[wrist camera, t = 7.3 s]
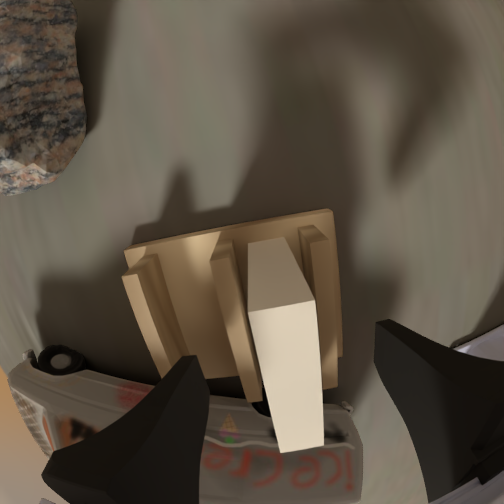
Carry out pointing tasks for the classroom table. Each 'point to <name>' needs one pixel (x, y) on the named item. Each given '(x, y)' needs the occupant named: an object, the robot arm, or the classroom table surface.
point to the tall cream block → (286, 343)
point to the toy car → (215, 441)
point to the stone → (38, 93)
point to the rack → (229, 295)
